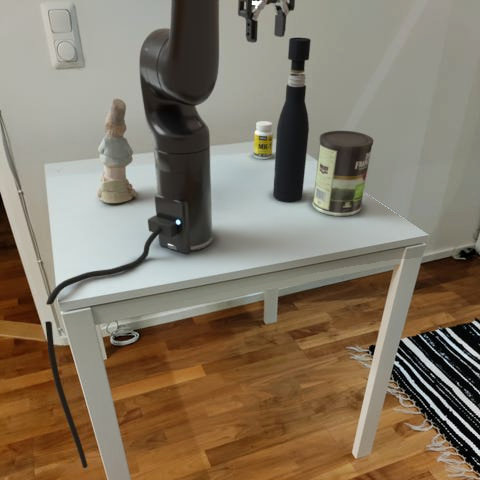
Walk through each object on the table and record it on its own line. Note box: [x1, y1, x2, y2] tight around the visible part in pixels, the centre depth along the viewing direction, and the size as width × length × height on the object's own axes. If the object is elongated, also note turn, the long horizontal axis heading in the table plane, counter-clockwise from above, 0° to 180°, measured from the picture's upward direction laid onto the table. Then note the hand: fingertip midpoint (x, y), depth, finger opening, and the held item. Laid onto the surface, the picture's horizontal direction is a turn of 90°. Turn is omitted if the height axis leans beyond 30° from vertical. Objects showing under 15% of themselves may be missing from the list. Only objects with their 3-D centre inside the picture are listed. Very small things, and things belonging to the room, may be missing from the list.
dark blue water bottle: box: [272, 37, 311, 203], centre depth 94 cm, size 6×6×30 cm
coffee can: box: [311, 130, 374, 217], centre depth 95 cm, size 10×10×14 cm
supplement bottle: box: [253, 120, 274, 160], centre depth 121 cm, size 5×5×8 cm
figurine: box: [97, 98, 138, 204], centre depth 96 cm, size 9×8×20 cm
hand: (265, 39), depth 96 cm, fingers open, 8 cm apart
